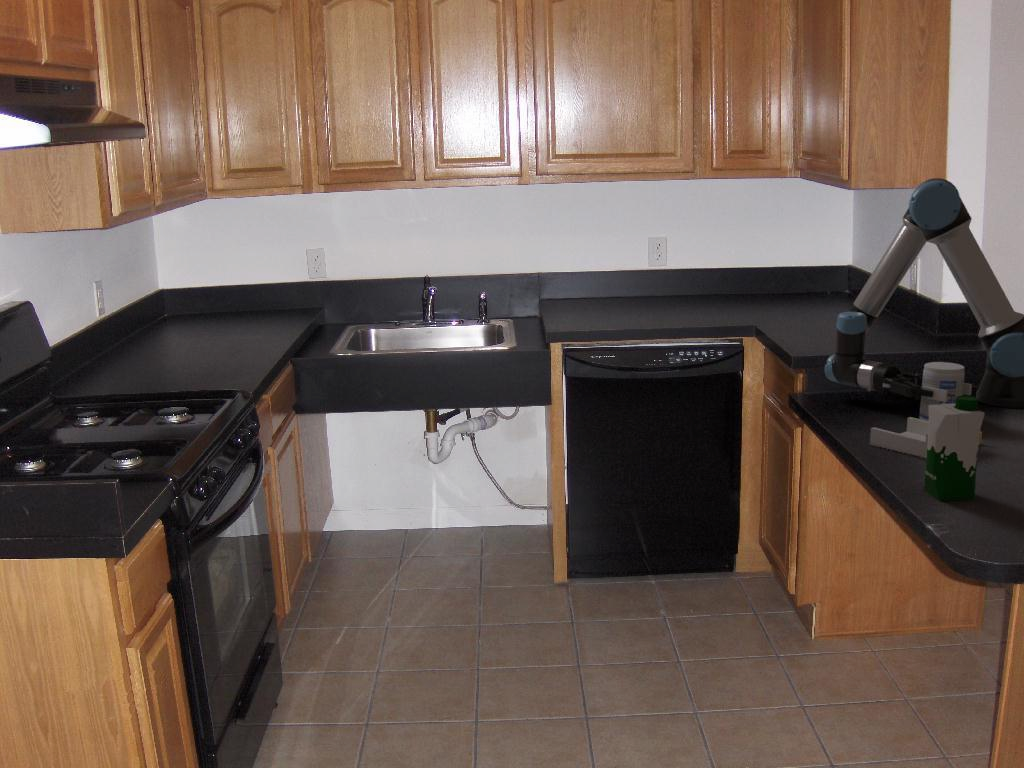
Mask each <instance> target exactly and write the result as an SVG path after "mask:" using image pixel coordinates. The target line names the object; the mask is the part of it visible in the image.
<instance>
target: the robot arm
mask: <svg viewBox="0 0 1024 768" xmlns="http://www.w3.org/2000/svg"><path fill="white" fill-rule="evenodd" d="M972 220H973V218H972V216H971V214H970V213H969V211H968V209H967V207H966V205H965V204H964V202H963V200H962V198H961V195H960V192H959V190H958V189H957V187H956V186H955V185H954V184H953V182H951V181H949V180H947V179H945V178H939V177H938V178H937V177H935V178H930V179H927V180H925V181H923V182H921V184H919V185H918V186H916V188H915V189H914V190H913V192H912V194H911V195H910V197H909V202H908V207H907V210H906V212H905V213H904V215H903V216H902V226H901V227H900V229H899V230H898V232H897V233H896V235H895V236H894V238H893V240H892V242H891V243H890V244H889V246H888V248H887V249H886V251H885V253H884V254H883V256H882V257H881V259H880V260H879V262H878V263H877V265H876V267H875V268H874V270H873V271H872V273H871V274H870V276H869V278H868V279H867V281H866V283H865V284H864V285H863V288H862V289H861V290H860V292H859V294H858V295H857V297H856V299H855V300H854V302H853V304H852V305H851V306H850V308H849V310H848V311H844V312H840V313H838V315H837V320H836V325H835V328H836V331H835V333H836V334H835V335H836V337H835V338H836V339H835V353H834V354H831V355H830V356H828V358H827V360H826V364H825V365H824V373H825V377H826V378H827V379H828V380H829V381H832V382H835V383H838V384H840V385H845V386H851V387H857V388H862V389H867V391H868V392H872V391H877V392H879V393H883V394H888V395H889V394H892V393H894V394H899V395H901V396H904V397H908V398H914V397H915V398H914V399H915V400H917V401H918V400H920V401H921V397H924V398H928V399H933V400H938V401H943V402H947V396H948V391H947V390H942V389H937V388H932V387H927V386H922V380H923V373H918V372H912V373H908V372H901V371H900V368H899V367H898V366H897V365H896V364H895V365H894V364H890V363H889V364H888V363H883V362H880V361H874V360H868V359H865V354H866V351H865V350H866V349H865V348H866V342H867V341H866V339H867V336H868V334H869V332H870V330H871V329H872V327H873V325H874V324H875V322H876V320H877V319H878V317H879V315H880V314H881V312H882V311H883V310H884V308H885V306H886V305H887V304H888V302H889V300H890V299H891V298H892V296H893V295H894V293H895V291H897V290H896V289H897V288H898V286H899V285H900V284H901V282H902V280H903V279H904V277H905V276H906V274H907V272H908V271H909V270H910V268H911V266H912V265H913V264H914V262H915V260H916V259H917V258H918V255H919V254H920V253H921V251H922V249H923V248H924V246H926V245H925V244H926V243H930V244H934V245H935V246H936V247H937V249H938V251H939V252H940V254H941V256H942V258H943V260H944V262H945V264H946V265H947V268H948V270H949V271H950V273H951V275H952V277H953V278H954V281H955V282H956V285H957V286H958V288H959V290H960V292H961V293H962V295H963V297H964V299H965V301H966V302H967V305H968V306H969V308H970V310H971V312H972V314H973V315H974V317H975V320H976V321H977V323H978V325H979V326H980V329H979V330H978V334H977V336H978V339H979V340H980V341H981V343H982V346H983V348H984V349H985V351H986V363H985V372H984V375H983V377H982V379H981V382H980V384H979V387H978V388H977V389H976V393H975V394H976V395H975V397H976V398H978V402H979V401H980V403H981V402H982V404H984V403H985V405H987V406H988V405H989V406H993V407H1001V408H1009V409H1011V408H1012V409H1013V408H1014V409H1024V313H1020V312H1018V311H1015V309H1014V308H1013V306H1012V304H1011V302H1010V300H1009V299H1008V296H1007V295H1006V293H1005V291H1004V289H1003V288H1002V285H1001V284H1000V282H999V280H998V278H997V276H996V274H995V272H994V271H993V269H992V268H991V265H990V264H989V262H988V260H987V258H986V257H985V254H984V252H983V250H982V249H981V247H980V246H979V243H978V242H977V240H976V238H975V236H974V234H973V232H972V230H971V229H970V226H971V225H970V224H971V222H972ZM972 386H973V385H972V383H966V382H964V387H963V395H964V396H972V389H973V388H972Z"/></svg>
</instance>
